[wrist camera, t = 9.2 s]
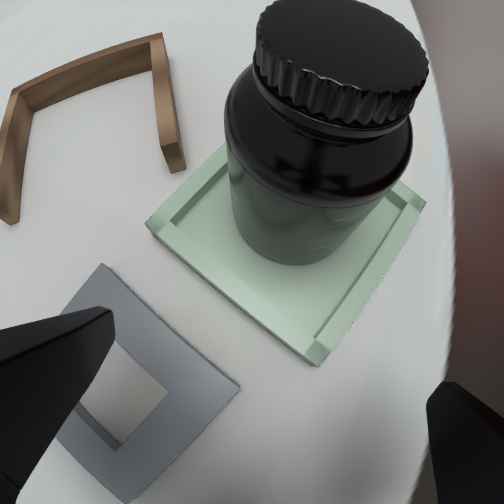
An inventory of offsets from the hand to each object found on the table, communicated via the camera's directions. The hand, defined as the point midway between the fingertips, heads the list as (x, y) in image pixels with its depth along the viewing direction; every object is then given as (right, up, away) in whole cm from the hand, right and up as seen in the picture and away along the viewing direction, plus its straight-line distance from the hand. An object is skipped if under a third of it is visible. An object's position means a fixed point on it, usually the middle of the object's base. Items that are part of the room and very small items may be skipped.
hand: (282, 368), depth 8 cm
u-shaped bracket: (-13, +11, +13) cm, 21 cm away
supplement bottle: (+2, +5, +11) cm, 12 cm away
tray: (+2, +5, +11) cm, 12 cm away
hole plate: (-8, -5, +8) cm, 13 cm away
